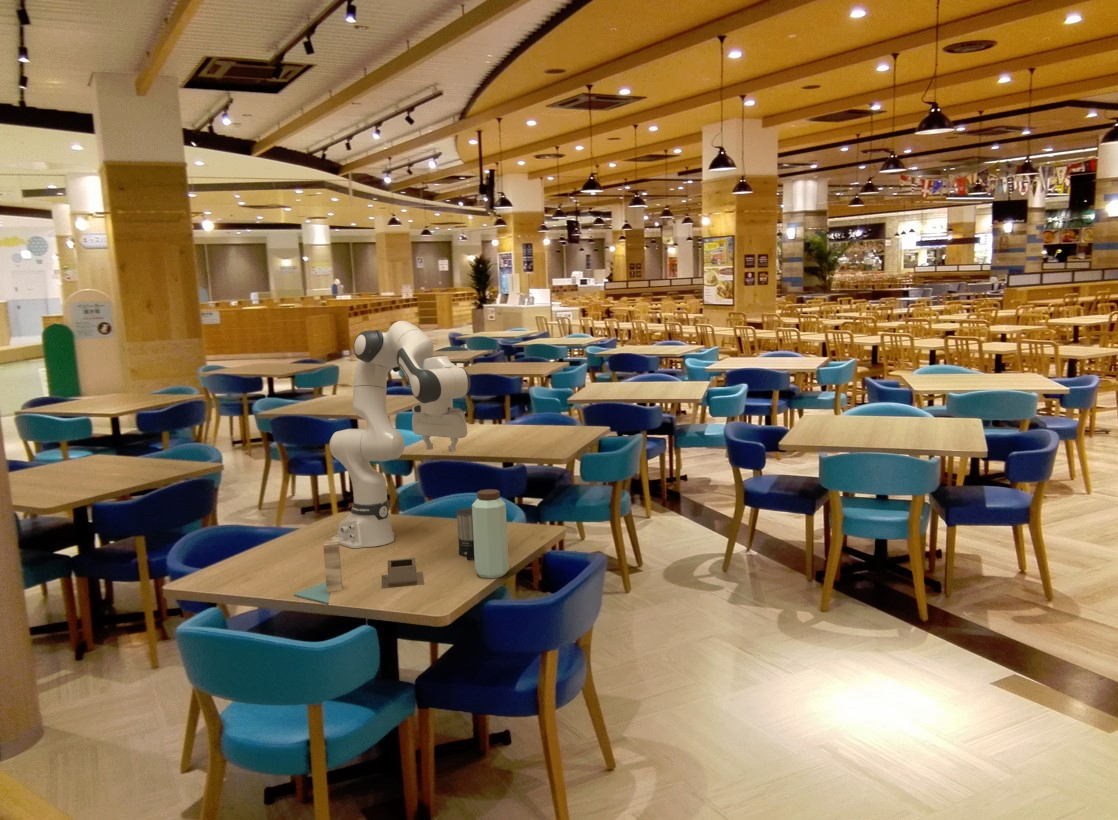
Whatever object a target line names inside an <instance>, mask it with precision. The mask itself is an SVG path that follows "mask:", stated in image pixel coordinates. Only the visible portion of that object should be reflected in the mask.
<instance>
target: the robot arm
mask: <svg viewBox="0 0 1118 820" xmlns="http://www.w3.org/2000/svg"><path fill="white" fill-rule="evenodd" d="M434 350H435V349H434V344H433V341H432V339H431V338H430V336H429V335H427V334H426V333H425V332H424V331H423V330H422V329H420V328H419V327H418V326H417V325H414V324H413V323H411V322H410V321H409V322H408V321H406V320H398V321H396V322H393V324H392V325H390V327H389V328H388V330H387V331H386V332H382V331H380V330H379V329H375V330H364V331H361V332H359V334H357V336H356V337H355V339H354V341H353V352H354V355H355V358H357V359H358V361H357V365H356V368H355V373H354V378H353V379H354V380H353V389H352V390H353V391H352V405H351V406H352V411H353V412H354V414H355V415H357V416H358V417H360V418H361V419H363V420H365V422H366V426H367V427H366V428H347V429H343V430H338V431H335V432H334V433H333V434H332V436H331V438H330V439H329V444H328V446H329V451H330V454H331V455H332V456H333V458H335V460H338V461H339V462H340V464H341V465H342V466H343V467H344V468H345V469H346V471H347V473H348V475H349V477H350V481H351V486H352V492H353V502H350V503H348V505H349V506H348V508H351V509H350V513H348V514H347V515H346V516H345V517H344V518H343V519H342V520H341V521H340V522H339V523H338V527H337V534H336V535H333V536H332V537H331V539H330V541H334V540H339V545H341V546H345V547H348V548H350V549H359V548H372V547H373V548H374V547H378V546H380V547H381V546H385V545H387V544H390V543H391V544H392V543H393V542H394V540H395V532H394V531H393V527H392V521H391V515H390V513H389V510H390V502H389V499H388V495H387V493H388V492H387V491H388V490H387V481H386V477H385V476H384V474H383V473H381V472H380V471H378V470H376V469H374V468H373V466H372V465H371V462H388V461H394V460H397V459H399V458H400V457H401V456H402V455H403V453H404V451H405V446H406V443H405V438H404V436H403V435H402V433H401V432H400V431H399V430H398V429H397V428H395V427H394V426H393V424H392V423H391V421H390V419H389V417H388V412H387V411H388V410H387V381H388V379H387V378H388V374H389V373H390V371H391V370H392V371H393V372H394V373H398V372H399V371H400V372H401V374H402V375H403V377H404V378H405V380H406V382H407V384H408V386H409V388H410V391H411V393H412V395H413V397H414V398H415V399H416V400H417V401H418V402H419V403H418V404H415V405H413V406H411V412H412V413H413V414H412V417H411V418H412V419H411V421H412V423H411V426H412V427H411V428H412V432H413V433H414V435H415V436H422V440H423V442H424V445H425V449H426V450H429V451H431V450H433V449H434V444H433V443H432V442H431V439H430V438H431V437H435V438H437V437H438V438H439V437H440V438H449V439H450V442H451V444H450V445H448V446H447V447H448V452H451V453H453V452H454V453H455V452H456V450H457V449H456V448H457V447H456V446H457V444H458V442H459V439H463V438H466V437H467V436H468V426H467V421H466V418H465V417H466V415H465V412H464V411H463V410H462V408H459V407H457V408H456V407H454V406H453V399H460V398H463V397H466V396H467V394H468V393H469V391H470V389H471V377H470V375H469V373H468V371H467V370H466V369H464V368H463V367H461V366H460V367H459V366H458V365H455V364H454V363H452V362H451V361H450V358H449V357H448V356H447V355H444V354H442V355H439V354H438V355H434Z"/></svg>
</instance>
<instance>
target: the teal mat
mask: <svg viewBox="0 0 1118 820" xmlns="http://www.w3.org/2000/svg"><path fill="white" fill-rule="evenodd" d="M293 597H297V598H300V597H301V599H305V600H309V601H312V602H317V603H321V604H324V603H325V605H329V602H330V597H331V593H327V588H326V581H324V582H323V583H319V584H317V585H314V586H312V587H309V588H306V589H304V590H301V591H299V592H295V593H293Z"/></svg>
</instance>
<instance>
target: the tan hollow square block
mask: <svg viewBox="0 0 1118 820" xmlns="http://www.w3.org/2000/svg"><path fill="white" fill-rule="evenodd" d="M422 585H423V586H424V585H425V580H424V572H423V571H417V564H416V557H411V558H400V559H399V558H398V559H389V560H387V574H383V575H381V585H380V587H381V589H395V588H403V587H414V586H415V587H416V586H422Z"/></svg>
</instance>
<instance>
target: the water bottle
mask: <svg viewBox="0 0 1118 820" xmlns="http://www.w3.org/2000/svg"><path fill="white" fill-rule="evenodd" d="M476 496H477V497H476V499H475V501H473V503H472V504H471V508H472V517H473V537H474V558H475V559H474V571H475V572H476V574H477V575H478V576H479V577H480V578H482V579H490V578H491V579H497V578H501V577H503V576H505V575H506V574H507V572H508V571H509V568H510V567H509V548H508V546H509V545H508V526H507V525H508V524H507V521H508V520H507V504H506V502H504V500H503V499H502V498H501V493H500V490H498V489H491V488H488V489H480V490H479V491H477V492H476Z"/></svg>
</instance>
